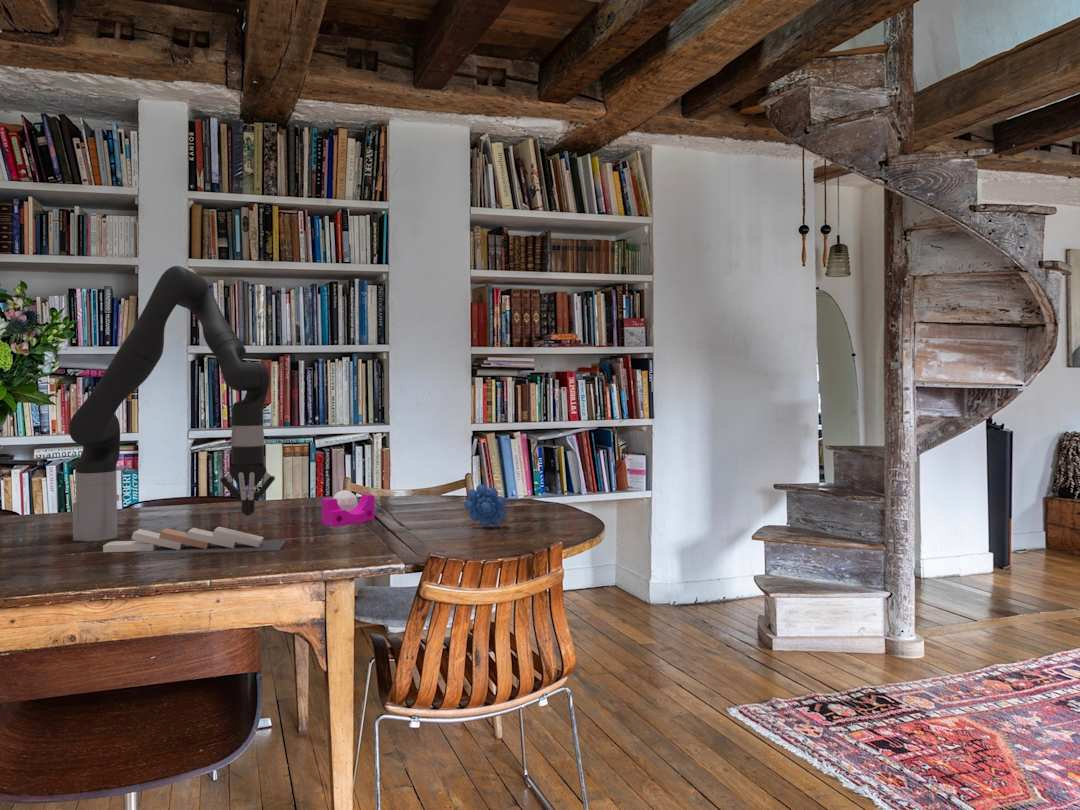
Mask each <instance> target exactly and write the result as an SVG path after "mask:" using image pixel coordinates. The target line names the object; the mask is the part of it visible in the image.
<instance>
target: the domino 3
mask: <svg viewBox="0 0 1080 810" xmlns="http://www.w3.org/2000/svg"><path fill="white" fill-rule="evenodd" d="M159 533H160V536H159V538H160V539H164V540H169V541H173V542H177V543H182V544H186V545H191V546H195V547H199V548H204V549H207V548H208V547H209V546H210V545H211V543H207V542H203V541H199V540H194V539H190V538H186V537H187V533H188V532H185V531H182V530H177V529H172V528H168V527H166V528H164V529H163V530H161V531H160V532H159Z"/></svg>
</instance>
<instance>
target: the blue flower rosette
mask: <svg viewBox="0 0 1080 810" xmlns="http://www.w3.org/2000/svg"><path fill="white" fill-rule="evenodd" d="M467 498H469V499H467V500H465V502H464V507H465V508H466V509H467V510H468V511H469V518H470V520H471V521H473V522H479V525H480V526H481V527H483V528H488V527H489V526H490V524H491V525H492V526H494V527H497V526H499V525H500V524H501V519H504V518H506V517H507V515H508V514H507V510H506V508H504V507H505V506H506V504H507V503H506V499H505V498H504V497H503V496H501V495H499V492H498V490H497V488H495V487H493V486H490V487H488V488H487V487H486V485H485V484H477V486H476V489H474V488H473V489H472V488H471V489H469V490H468V491H467Z"/></svg>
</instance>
